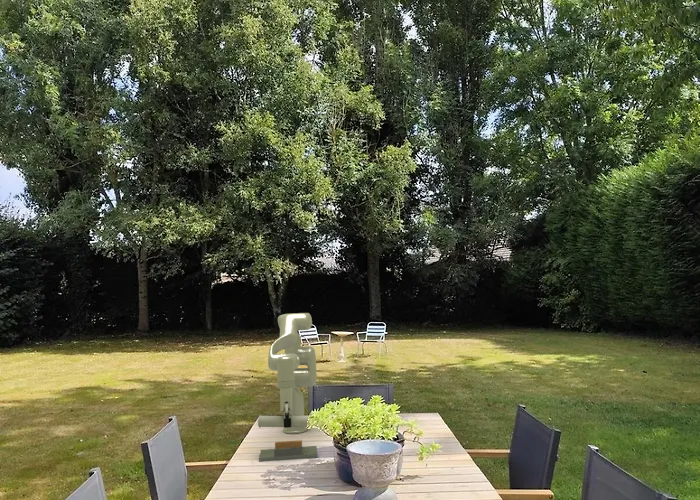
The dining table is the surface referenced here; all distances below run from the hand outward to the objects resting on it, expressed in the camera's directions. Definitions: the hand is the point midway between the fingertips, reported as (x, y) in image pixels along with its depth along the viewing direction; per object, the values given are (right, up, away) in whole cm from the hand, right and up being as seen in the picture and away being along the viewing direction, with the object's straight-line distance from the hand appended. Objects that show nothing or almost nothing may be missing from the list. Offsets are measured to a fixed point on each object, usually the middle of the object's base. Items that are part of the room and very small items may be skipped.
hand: (287, 425), depth 249 cm
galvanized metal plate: (+1, -13, -1) cm, 13 cm away
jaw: (0, -12, +5) cm, 13 cm away
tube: (0, -1, 0) cm, 1 cm away
